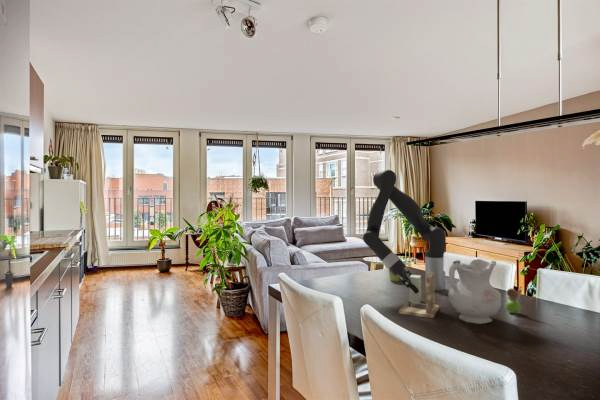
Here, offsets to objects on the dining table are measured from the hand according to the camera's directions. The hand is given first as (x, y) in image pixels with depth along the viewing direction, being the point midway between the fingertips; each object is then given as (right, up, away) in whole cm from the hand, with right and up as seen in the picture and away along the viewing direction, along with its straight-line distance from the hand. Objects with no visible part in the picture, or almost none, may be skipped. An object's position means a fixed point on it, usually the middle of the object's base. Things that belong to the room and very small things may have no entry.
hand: (419, 290), depth 174 cm
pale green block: (-1, -5, +1) cm, 6 cm away
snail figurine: (+35, -5, -18) cm, 39 cm away
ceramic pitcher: (+14, -6, -25) cm, 29 cm away
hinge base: (-4, -5, -13) cm, 14 cm away
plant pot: (0, -5, +44) cm, 44 cm away
